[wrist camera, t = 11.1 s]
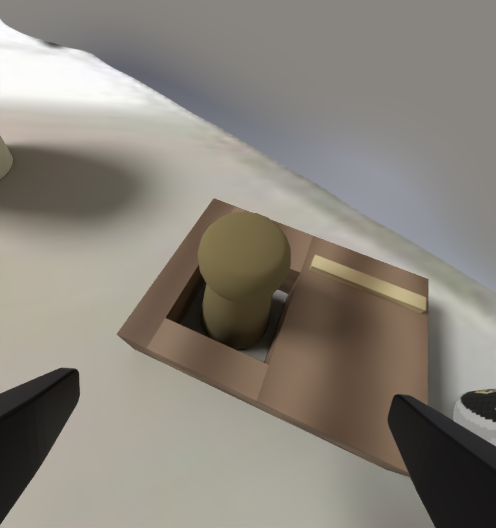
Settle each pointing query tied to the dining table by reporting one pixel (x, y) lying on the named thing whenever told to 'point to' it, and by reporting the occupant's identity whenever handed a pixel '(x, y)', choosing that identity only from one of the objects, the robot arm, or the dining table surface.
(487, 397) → the beverage can
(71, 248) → the dining table surface
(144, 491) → the dining table surface
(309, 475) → the dining table surface
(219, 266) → the cork
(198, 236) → the walnut jig
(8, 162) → the reusable coffee cup
